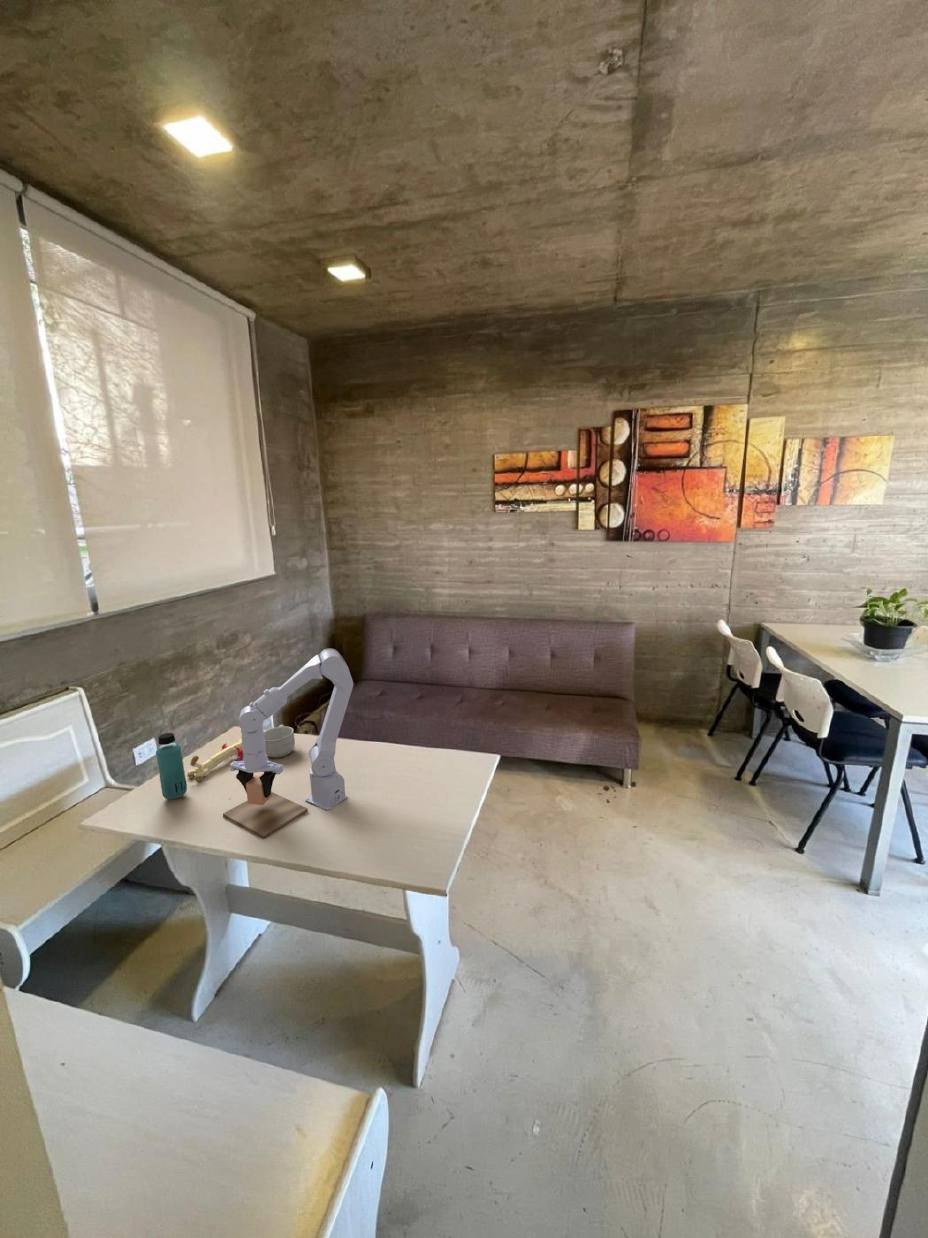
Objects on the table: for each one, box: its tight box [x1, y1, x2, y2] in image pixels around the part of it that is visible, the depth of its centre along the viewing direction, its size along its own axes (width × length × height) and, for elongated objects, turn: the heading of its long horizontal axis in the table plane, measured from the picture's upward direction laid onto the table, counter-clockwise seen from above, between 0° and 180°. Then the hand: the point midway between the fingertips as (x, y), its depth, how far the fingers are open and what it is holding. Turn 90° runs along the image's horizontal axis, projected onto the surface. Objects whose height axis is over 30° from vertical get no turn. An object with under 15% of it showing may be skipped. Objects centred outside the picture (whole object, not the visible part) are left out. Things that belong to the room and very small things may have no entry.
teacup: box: [264, 724, 296, 759], centre depth 171 cm, size 14×11×8 cm
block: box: [246, 775, 273, 805], centre depth 135 cm, size 4×4×6 cm
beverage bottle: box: [155, 732, 188, 800], centre depth 142 cm, size 6×7×20 cm
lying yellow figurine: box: [186, 738, 244, 783], centre depth 164 cm, size 10×9×25 cm
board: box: [222, 791, 309, 840], centre depth 135 cm, size 18×14×1 cm
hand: (259, 795), depth 135 cm, fingers closed on block, 4 cm apart
